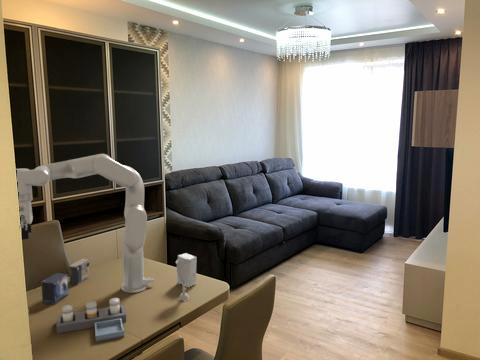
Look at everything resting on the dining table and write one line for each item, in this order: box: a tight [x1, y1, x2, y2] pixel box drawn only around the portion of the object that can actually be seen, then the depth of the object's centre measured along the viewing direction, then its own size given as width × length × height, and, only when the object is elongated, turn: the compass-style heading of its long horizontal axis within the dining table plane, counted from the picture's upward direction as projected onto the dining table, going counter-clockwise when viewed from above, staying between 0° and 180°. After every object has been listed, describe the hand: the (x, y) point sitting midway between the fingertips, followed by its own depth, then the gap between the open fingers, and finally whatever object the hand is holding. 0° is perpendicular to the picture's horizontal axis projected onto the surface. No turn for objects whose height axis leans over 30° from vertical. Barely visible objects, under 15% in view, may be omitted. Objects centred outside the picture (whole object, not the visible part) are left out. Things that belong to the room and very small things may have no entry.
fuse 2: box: [108, 297, 121, 315], centre depth 167 cm, size 4×4×8 cm
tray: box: [94, 318, 125, 343], centre depth 156 cm, size 10×10×2 cm
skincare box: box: [176, 252, 198, 288], centre depth 199 cm, size 8×6×15 cm
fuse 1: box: [61, 304, 74, 323], centre depth 160 cm, size 4×4×8 cm
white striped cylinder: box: [85, 300, 98, 319], centre depth 164 cm, size 4×4×8 cm
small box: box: [41, 272, 69, 306], centre depth 183 cm, size 11×6×10 cm, turn 168°
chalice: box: [175, 259, 192, 301], centre depth 184 cm, size 7×7×18 cm
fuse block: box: [55, 304, 127, 334], centre depth 164 cm, size 26×9×3 cm, turn 111°
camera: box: [68, 258, 90, 286], centre depth 203 cm, size 11×6×10 cm, turn 163°
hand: (25, 235), depth 175 cm, fingers open, 9 cm apart
